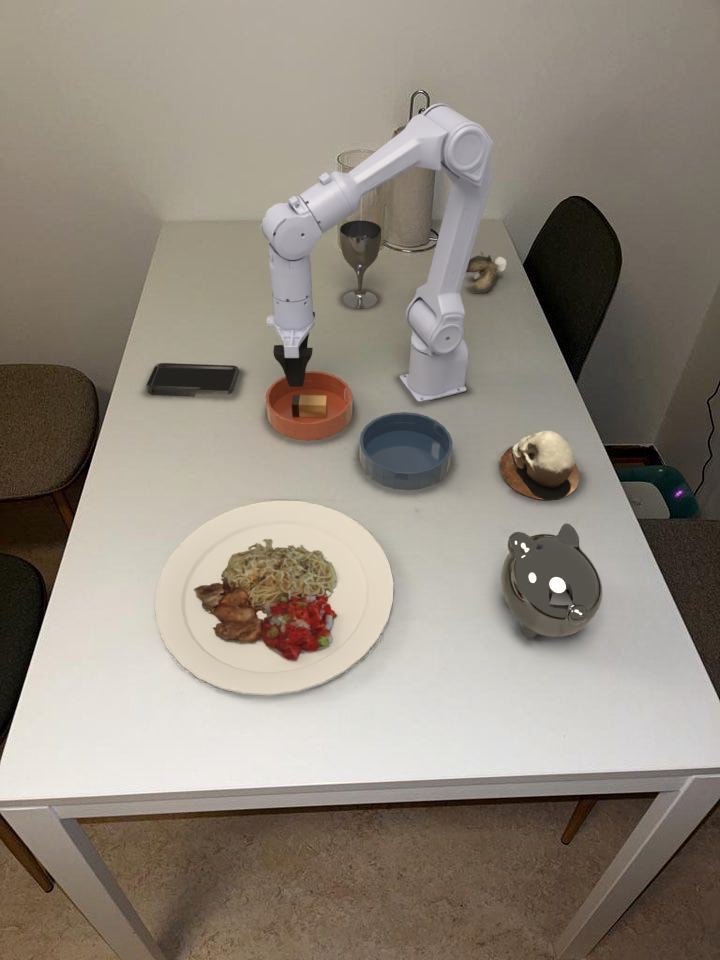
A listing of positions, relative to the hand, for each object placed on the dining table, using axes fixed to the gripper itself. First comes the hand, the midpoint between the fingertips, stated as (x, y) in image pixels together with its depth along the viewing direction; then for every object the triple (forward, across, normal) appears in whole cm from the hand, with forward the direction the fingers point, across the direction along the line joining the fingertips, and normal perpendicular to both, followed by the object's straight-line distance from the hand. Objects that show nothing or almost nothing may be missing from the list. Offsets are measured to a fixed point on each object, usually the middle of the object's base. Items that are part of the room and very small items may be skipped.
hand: (297, 370), depth 108 cm
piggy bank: (+10, +39, +32) cm, 51 cm away
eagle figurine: (+10, -46, +36) cm, 59 cm away
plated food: (+10, +36, -1) cm, 37 cm away
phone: (+9, -10, -19) cm, 24 cm away
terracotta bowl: (+9, -1, +2) cm, 10 cm away
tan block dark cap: (+9, -1, +2) cm, 9 cm away
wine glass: (+10, -38, +10) cm, 41 cm away
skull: (+10, +13, +37) cm, 41 cm away
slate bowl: (+9, +11, +17) cm, 22 cm away
